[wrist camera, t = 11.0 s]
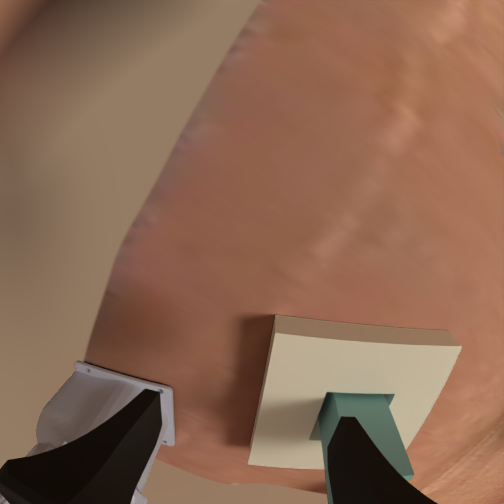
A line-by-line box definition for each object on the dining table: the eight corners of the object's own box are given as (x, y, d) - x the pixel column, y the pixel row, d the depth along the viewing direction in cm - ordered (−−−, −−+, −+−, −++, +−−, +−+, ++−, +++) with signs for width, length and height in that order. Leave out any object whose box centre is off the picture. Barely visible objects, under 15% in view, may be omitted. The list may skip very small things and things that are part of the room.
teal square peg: (317, 411, 23) (328, 511, 13) (330, 375, 22) (351, 480, 12) (361, 412, 23) (386, 506, 13) (377, 377, 22) (414, 474, 12)
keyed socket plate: (249, 444, 25) (247, 464, 22) (275, 314, 21) (275, 332, 18) (389, 448, 24) (394, 465, 22) (448, 330, 20) (462, 346, 18)
